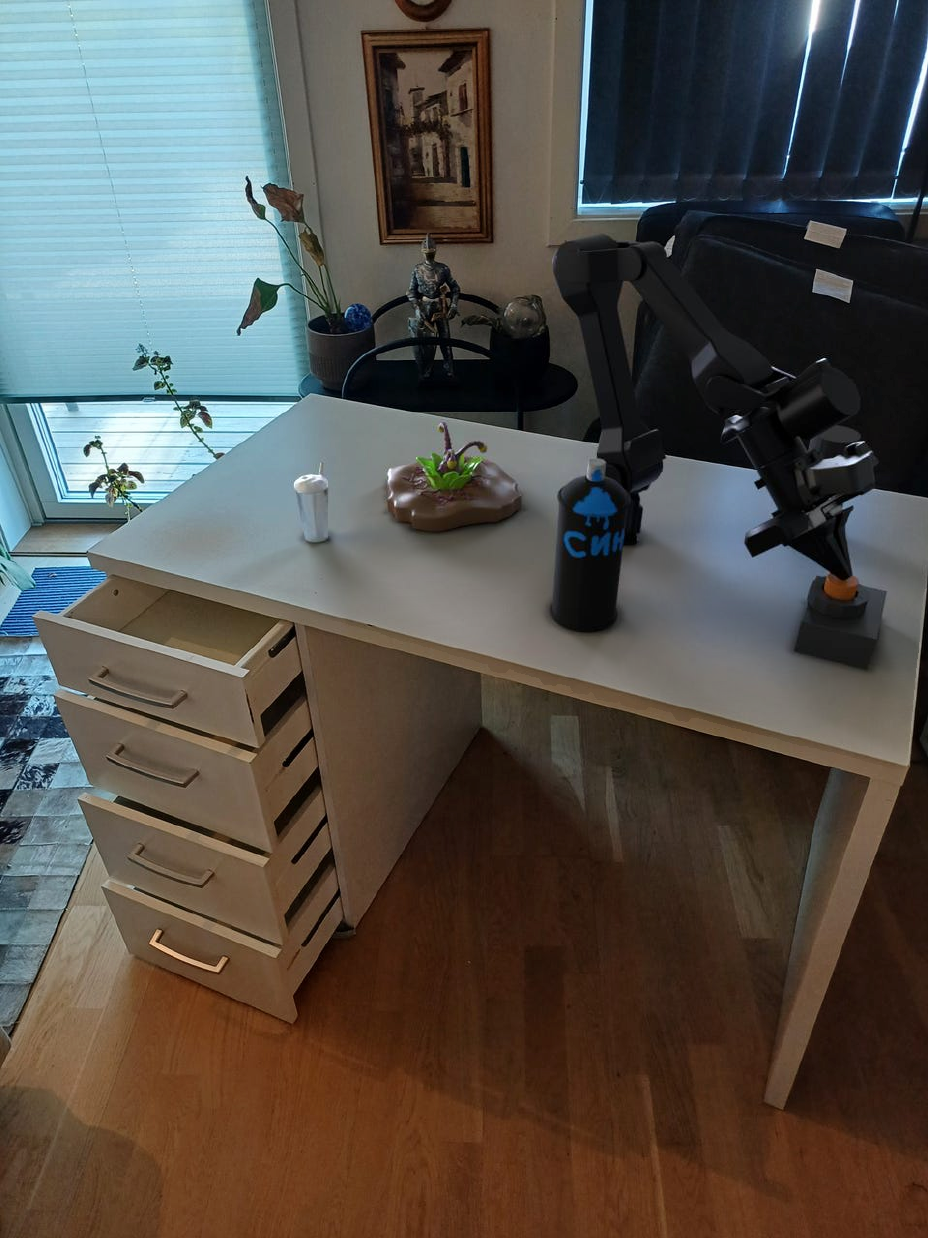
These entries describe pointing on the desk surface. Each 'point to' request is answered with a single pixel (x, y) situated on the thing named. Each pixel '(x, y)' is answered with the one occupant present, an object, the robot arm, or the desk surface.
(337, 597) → the desk surface
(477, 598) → the desk surface
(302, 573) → the desk surface
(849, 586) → the orange push button
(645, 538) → the desk surface
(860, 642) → the push button box
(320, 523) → the milkshake
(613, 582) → the aerosol can
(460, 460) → the plant
